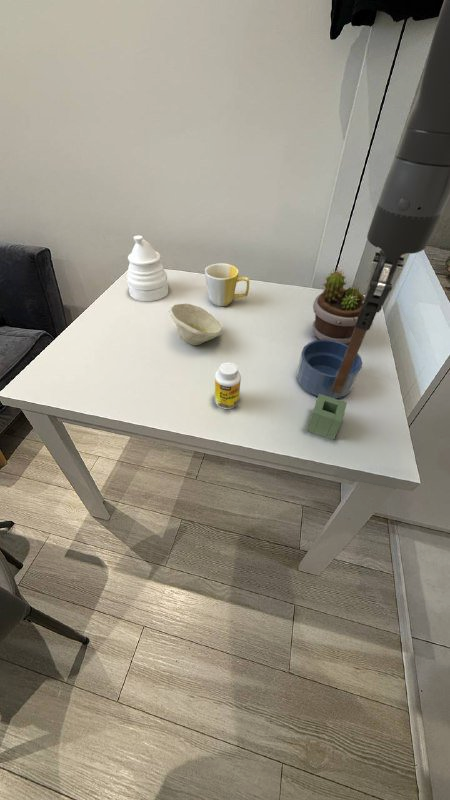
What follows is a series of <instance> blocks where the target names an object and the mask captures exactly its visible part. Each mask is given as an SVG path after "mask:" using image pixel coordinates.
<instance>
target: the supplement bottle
mask: <svg viewBox="0 0 450 800" xmlns="http://www.w3.org/2000/svg"><path fill="white" fill-rule="evenodd" d="M241 381H242V375H241V373H240V371H239V367H238V365H237V364H235V363H234V362H232V361H231V362H230V361H227V362H223V363H221V364H220V365H219V366H218V370H217V371H216V372H215V375H214V402H215V404H216V405H217V406H218V407H219V408H221V409H224V410H228V409H229V410H230V409H233V408H235V407H236V406H237V405H238V404H239V402H240V393H241V391H240V390H241Z"/></svg>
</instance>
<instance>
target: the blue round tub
mask: <svg viewBox="0 0 450 800" xmlns="http://www.w3.org/2000/svg"><path fill="white" fill-rule="evenodd" d="M348 345H349V344H343V343H341V342H337V341H334V340H318V339H315V340H313V341H311V342H310V341H309V342H308V343H307V344H305V345H304V346H303V348H302V350H301V353H300V357H299V360H298V364H297V369H296V372H295V373H296V380H297V382H298V384H299V385H300V386H301V388H302V389H304V390H305V391H306V392H308V393H310V394H312V395H313V396H316V397H318V396H319V394H322V395H325V396H328V397H331V398H334V399H339V398H343V397H345V396H347V395H349V394H350V393H351V391H353V388H354V386H355V384H356V381H357V379H358V378H359V377H358V376H359V375H360V372H361V370H362V366H363V361H362V360H363V359H362V357H361V355H360V354H359V352H358V353H357V356H356V358H355V360H354V363H353V365H352V368H351V370H350V373H349V375H348V377H347V380H346V382H345V385H344V387H343V390H342V392H341V394H338V393H335V392H332V388H333V385H334V382H335V379H336V377H337V374H338V371H339V369H340V366H341V363H342V361H343V358H344V355H345V353H346V350H347V347H348Z"/></svg>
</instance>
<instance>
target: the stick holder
mask: <svg viewBox="0 0 450 800" xmlns="http://www.w3.org/2000/svg"><path fill="white" fill-rule="evenodd" d="M347 404H348V402H346V401H344V400H340V399H339V398H331V397H328V396H325V395H322V394H319V396H317V398H316V401H315V405H314V408H313V410H312V412H311V413H312V414H311V416H310V419H309V422H308V424H307V427H306V431H307V432H309V433H313V434H316V435H318V436H321V437H324V438H327V439H330V440H335V438H336V436H337V434H338V432H339V429H340V427H341V424H342V422H343V420H344V415H345V412H346V408H347Z"/></svg>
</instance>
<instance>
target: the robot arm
mask: <svg viewBox="0 0 450 800" xmlns="http://www.w3.org/2000/svg"><path fill="white" fill-rule="evenodd" d="M432 35H433V36H432V39H431V42H430V45H429V51H428V54H427V57H426V61H425V66H424V68H423V69H424V70H423V73H422V77H421V81H420V85H419V90H418V93H417V96H416V98H415V101H414V103H413V106H412V108H411V111H410V113H409V115H408V118H407V121H406V123H405V127H404V130H403V133H402V136H401V139H400V141H399V145H398V148H397V151H396V154H395V156H394V159H393V162H392V164H391V166H390V169H389V171H388V173H387V175H386V178H385V180H384V183H383V186H382V189H381V191H380V195H379V197H378V201H377V204H376V206H375V210H374V213H373V217H372V219H371V222H370V225H369V229H368V232H367V234H366V238H367V241H368V242H369V243H370V245H372V247H375V248H379V249H380V250H379V251H375V252H374V255H373V258H372V261H371V264H370V267H369V270H368V271H369V274H368V276H367V280H366V283H365V287H364V290H363V291H364V297H365V299H364V301H363V302H362V305H361V306H362V307H361V310H360V313H359V315H358V319H357V322H356V325H355V326H356V328H358V329H362V330H367V331H369V330H370V329H371V327H372V325H373V323H374V320H375V317H376V315H377V313H380V312H381V310H382V309H383V305H384V303H385V302H386V299H387V298H388V297H389V296H390V294H391V292H392V289H393V287H394V284H395V282H396V280H397V279H398V278H399V277H400V275H401V272H402V270H403V268H404V261H405V256H403V255H406V254H418V253H420V252H423V251H424V250H425V249H426V248H427V246H428V244H429V242H430V240H431V238H432V236H433V233H434V231H435V229H436V227H437V225H438V222H439V220H440V218H441V217H442V214H443V212H444V209H445V207H446V205H447V203H448V201H449V199H450V0H443V3H442V5H441V8H440V11H439V14H438V19H437V22H436V25H435V28H434V32H433V34H432Z"/></svg>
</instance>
